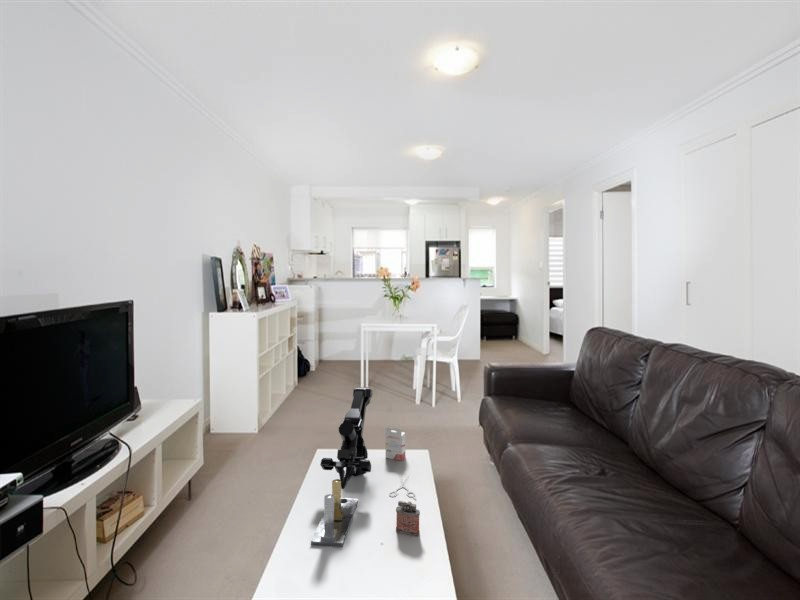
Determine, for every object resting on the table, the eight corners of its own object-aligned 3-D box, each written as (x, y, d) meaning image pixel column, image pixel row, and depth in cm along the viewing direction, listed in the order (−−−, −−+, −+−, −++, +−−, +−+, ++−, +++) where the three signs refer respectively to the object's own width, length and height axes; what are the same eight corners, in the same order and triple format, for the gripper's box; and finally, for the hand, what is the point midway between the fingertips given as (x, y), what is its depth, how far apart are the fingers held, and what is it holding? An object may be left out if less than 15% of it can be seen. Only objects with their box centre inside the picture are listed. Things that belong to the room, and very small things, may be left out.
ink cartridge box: (405, 456, 183) (406, 426, 182) (401, 461, 178) (402, 429, 178) (389, 453, 186) (389, 423, 186) (385, 457, 182) (385, 427, 181)
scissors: (388, 498, 147) (392, 472, 167) (388, 500, 147) (392, 474, 167) (416, 499, 146) (416, 473, 166) (416, 501, 146) (416, 474, 166)
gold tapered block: (331, 513, 135) (331, 478, 134) (344, 513, 134) (344, 479, 134) (328, 519, 131) (328, 483, 131) (341, 520, 131) (341, 484, 130)
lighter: (420, 531, 128) (421, 502, 127) (417, 538, 124) (418, 507, 124) (397, 526, 130) (398, 497, 130) (394, 532, 127) (394, 503, 127)
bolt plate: (331, 500, 146) (331, 463, 145) (357, 501, 145) (357, 465, 144) (310, 545, 121) (310, 501, 120) (342, 547, 120) (342, 502, 119)
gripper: (321, 437, 147) (312, 480, 136) (370, 439, 145) (365, 483, 135) (327, 448, 155) (319, 490, 145) (373, 450, 154) (368, 492, 143)
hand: (342, 488), depth 142 cm, fingers closed
